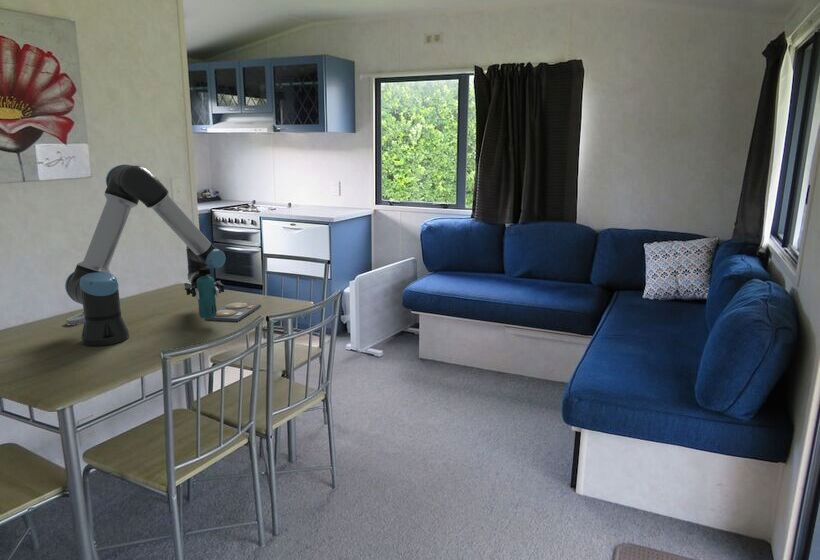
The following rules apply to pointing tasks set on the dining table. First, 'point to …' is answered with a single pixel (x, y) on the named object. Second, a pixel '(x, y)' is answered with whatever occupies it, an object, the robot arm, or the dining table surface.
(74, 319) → the electronic device
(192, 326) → the dining table surface
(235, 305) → the dark grey flat block
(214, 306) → the beverage bottle
